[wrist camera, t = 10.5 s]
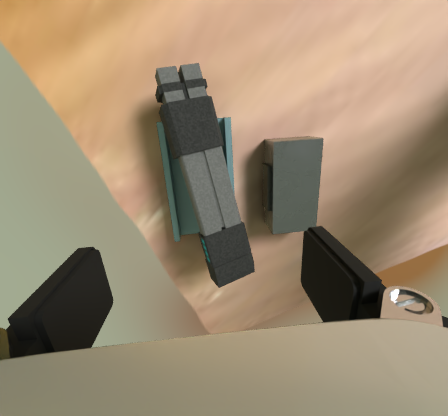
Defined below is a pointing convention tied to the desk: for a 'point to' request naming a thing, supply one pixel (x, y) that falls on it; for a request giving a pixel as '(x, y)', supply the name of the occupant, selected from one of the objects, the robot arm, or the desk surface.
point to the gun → (204, 170)
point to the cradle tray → (176, 184)
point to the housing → (291, 183)
